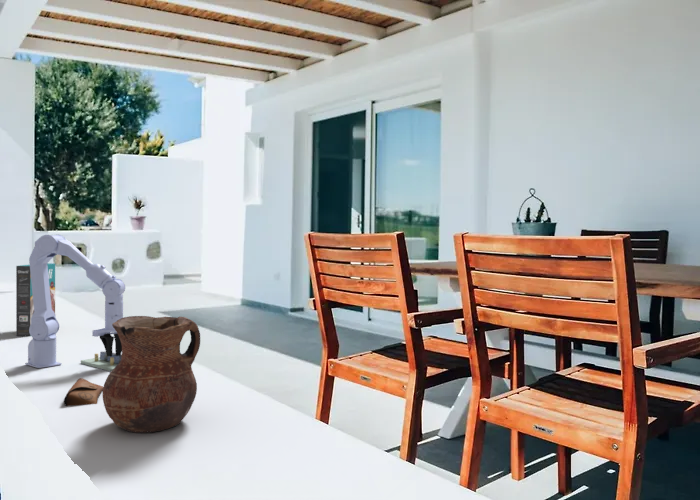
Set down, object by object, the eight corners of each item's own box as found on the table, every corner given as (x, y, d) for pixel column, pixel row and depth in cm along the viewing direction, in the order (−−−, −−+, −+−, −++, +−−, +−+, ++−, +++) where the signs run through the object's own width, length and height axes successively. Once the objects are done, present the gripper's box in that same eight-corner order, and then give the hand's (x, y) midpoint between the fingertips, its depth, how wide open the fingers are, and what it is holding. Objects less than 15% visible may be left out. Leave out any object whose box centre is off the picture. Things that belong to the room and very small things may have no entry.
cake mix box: (30, 336, 268) (30, 266, 268) (16, 336, 268) (16, 265, 268) (55, 328, 290) (55, 263, 289) (42, 328, 290) (42, 263, 289)
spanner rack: (80, 363, 216) (80, 353, 216) (110, 358, 225) (110, 348, 224) (113, 371, 204) (113, 361, 204) (142, 366, 212) (143, 356, 212)
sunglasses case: (98, 403, 166) (84, 382, 165) (74, 418, 165) (59, 397, 164) (106, 387, 183) (93, 368, 182) (83, 401, 182) (70, 381, 181)
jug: (142, 445, 135) (143, 329, 134) (81, 428, 146) (81, 320, 145) (216, 420, 154) (216, 318, 153) (157, 406, 165) (157, 311, 164)
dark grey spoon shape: (97, 359, 216) (98, 351, 217) (108, 358, 220) (109, 351, 220) (122, 365, 207) (123, 357, 208) (133, 364, 211) (134, 356, 211)
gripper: (100, 318, 204) (100, 360, 205) (139, 314, 216) (139, 353, 216) (89, 316, 209) (89, 357, 209) (128, 312, 220) (127, 351, 221)
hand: (114, 355), depth 213 cm, fingers open, 3 cm apart
